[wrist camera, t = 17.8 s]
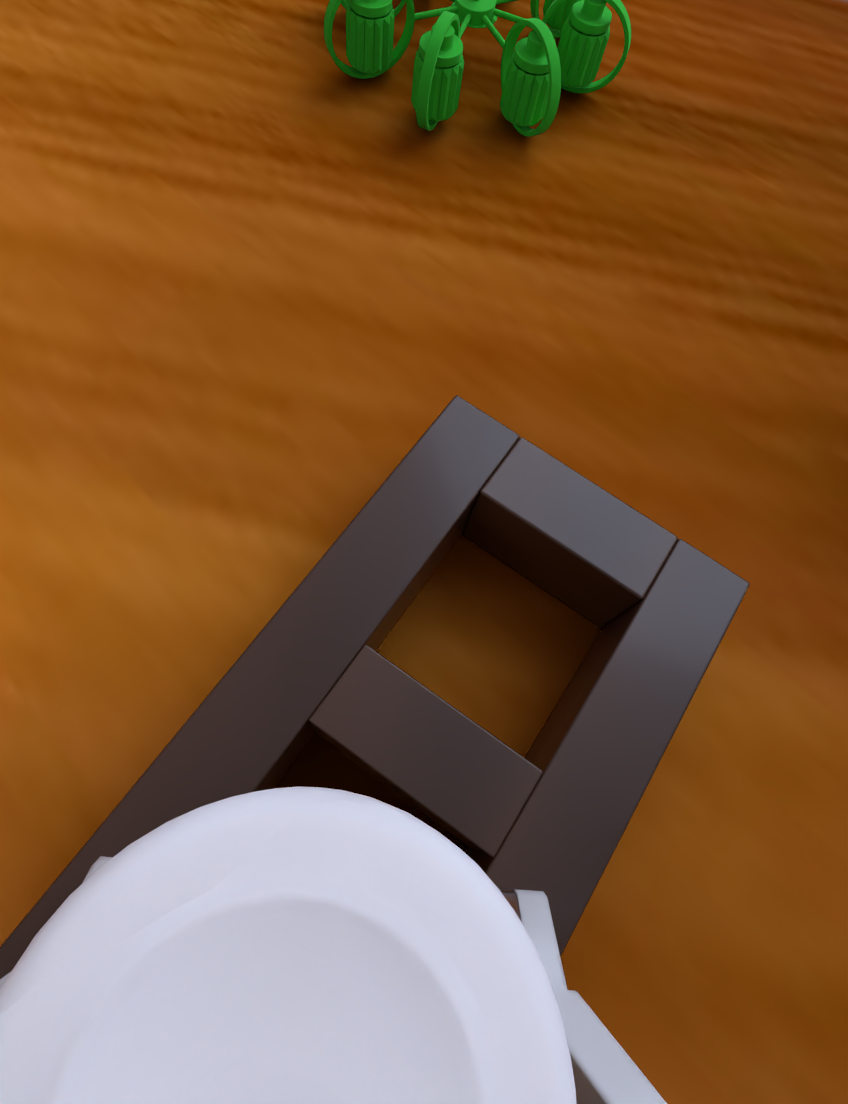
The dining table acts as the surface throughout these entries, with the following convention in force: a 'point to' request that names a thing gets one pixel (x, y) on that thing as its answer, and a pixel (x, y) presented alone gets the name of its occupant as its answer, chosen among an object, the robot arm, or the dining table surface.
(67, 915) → the sprinkles bottle
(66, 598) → the dining table surface
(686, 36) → the dining table surface
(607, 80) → the chandelier
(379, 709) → the holder
